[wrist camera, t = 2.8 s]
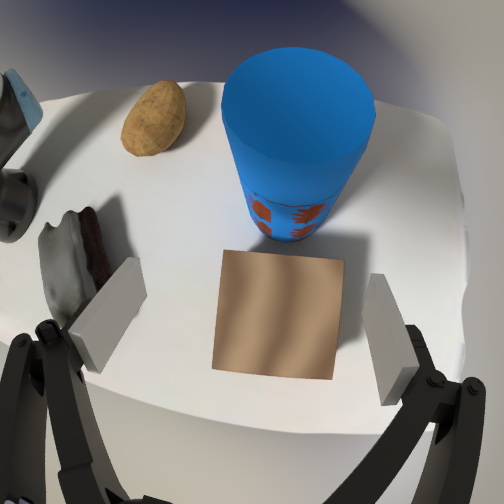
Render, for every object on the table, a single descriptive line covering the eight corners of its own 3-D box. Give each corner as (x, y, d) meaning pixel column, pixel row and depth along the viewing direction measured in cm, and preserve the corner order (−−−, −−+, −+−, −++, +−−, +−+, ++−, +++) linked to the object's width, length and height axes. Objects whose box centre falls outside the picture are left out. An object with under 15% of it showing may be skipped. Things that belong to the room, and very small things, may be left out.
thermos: (334, 231, 41) (404, 148, 17) (261, 253, 42) (243, 188, 17) (309, 163, 43) (337, 38, 19) (240, 182, 44) (205, 63, 19)
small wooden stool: (221, 357, 40) (211, 368, 33) (231, 257, 42) (223, 249, 35) (322, 366, 39) (332, 379, 32) (333, 266, 41) (344, 260, 34)
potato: (205, 103, 46) (195, 73, 38) (171, 174, 45) (153, 151, 37) (158, 96, 48) (142, 69, 40) (123, 162, 46) (100, 140, 38)
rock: (136, 322, 42) (109, 325, 34) (82, 340, 42) (52, 345, 34) (107, 211, 45) (80, 196, 37) (58, 237, 45) (29, 227, 37)
